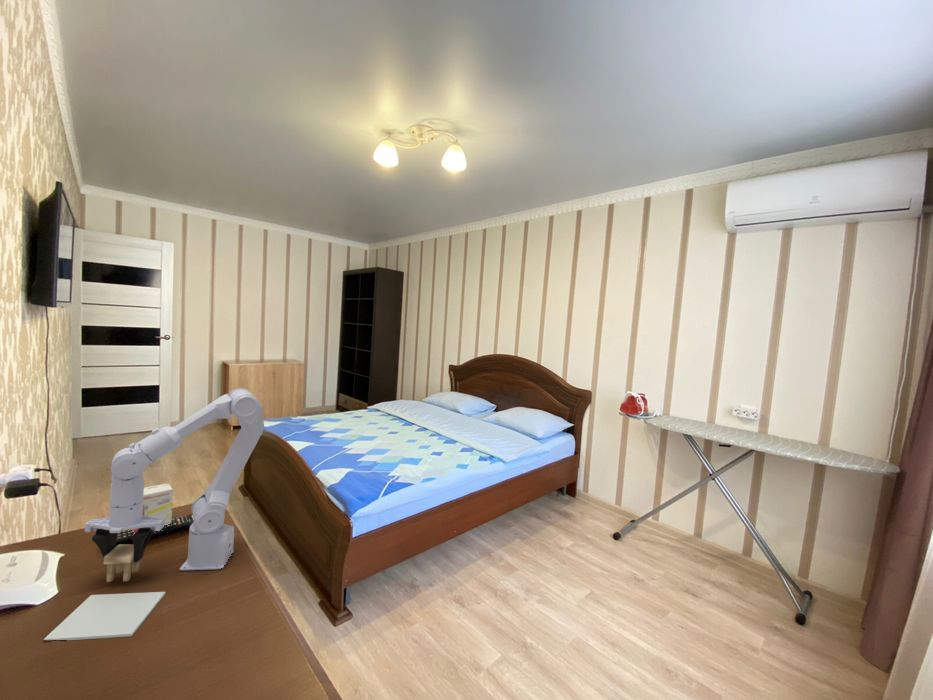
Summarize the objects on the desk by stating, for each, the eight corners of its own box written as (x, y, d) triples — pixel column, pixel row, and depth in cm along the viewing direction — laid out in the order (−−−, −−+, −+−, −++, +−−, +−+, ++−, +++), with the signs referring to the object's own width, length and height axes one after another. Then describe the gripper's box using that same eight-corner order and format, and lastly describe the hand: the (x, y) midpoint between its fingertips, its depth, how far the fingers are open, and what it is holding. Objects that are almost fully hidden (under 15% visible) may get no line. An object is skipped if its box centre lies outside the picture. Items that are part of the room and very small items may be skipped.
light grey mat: (165, 593, 86) (165, 591, 86) (131, 636, 75) (131, 633, 75) (90, 597, 83) (91, 595, 83) (43, 642, 72) (43, 639, 72)
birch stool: (142, 568, 92) (143, 544, 91) (128, 582, 87) (130, 556, 87) (117, 569, 91) (119, 544, 90) (102, 583, 86) (104, 557, 86)
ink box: (133, 538, 105) (135, 496, 104) (128, 531, 108) (131, 490, 108) (171, 528, 112) (174, 488, 111) (166, 521, 115) (169, 482, 114)
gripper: (75, 510, 82) (72, 572, 83) (153, 510, 86) (150, 569, 86) (98, 496, 89) (96, 553, 90) (170, 496, 92) (167, 551, 93)
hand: (124, 560), depth 89 cm, fingers closed on birch stool, 5 cm apart
